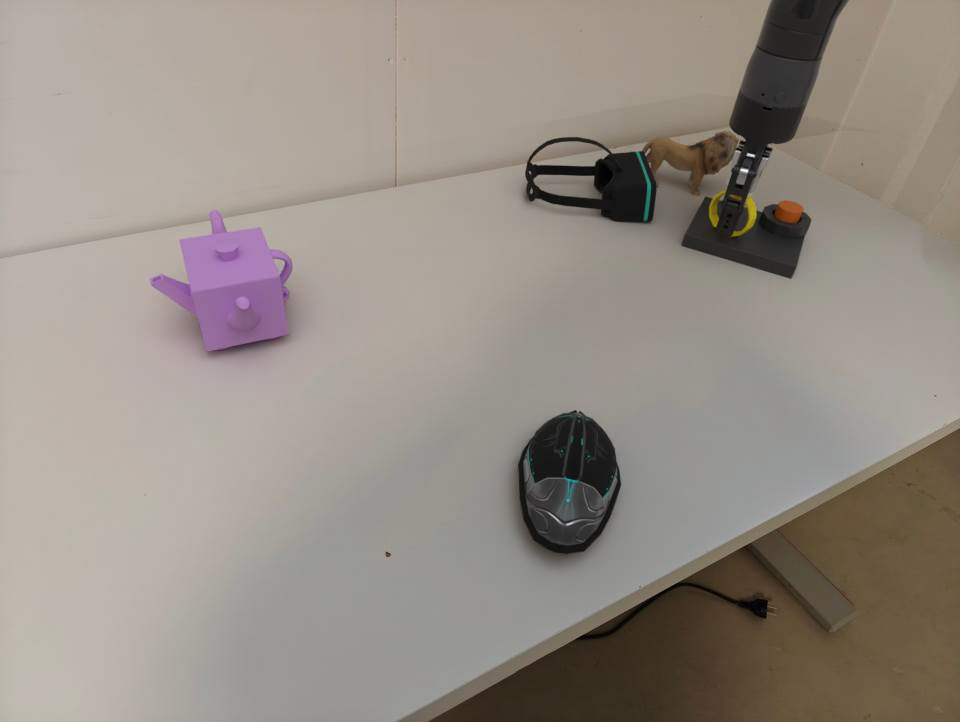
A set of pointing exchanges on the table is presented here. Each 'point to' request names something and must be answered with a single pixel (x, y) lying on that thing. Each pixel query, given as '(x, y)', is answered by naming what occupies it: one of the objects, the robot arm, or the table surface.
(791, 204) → the button
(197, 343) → the table surface
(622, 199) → the virtual reality headset
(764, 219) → the button base plate
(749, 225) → the watch
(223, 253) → the teapot
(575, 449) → the computer mouse
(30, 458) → the table surface
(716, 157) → the lion figurine
